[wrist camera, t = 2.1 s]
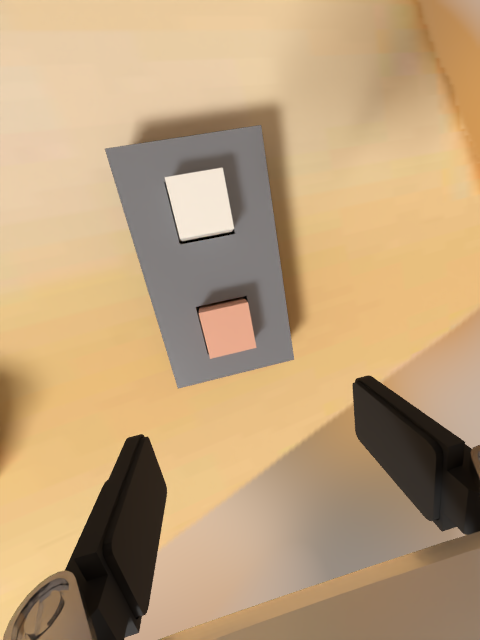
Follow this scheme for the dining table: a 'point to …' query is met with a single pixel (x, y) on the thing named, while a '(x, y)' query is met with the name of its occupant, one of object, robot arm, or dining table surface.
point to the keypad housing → (206, 249)
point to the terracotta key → (227, 327)
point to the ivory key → (200, 204)
